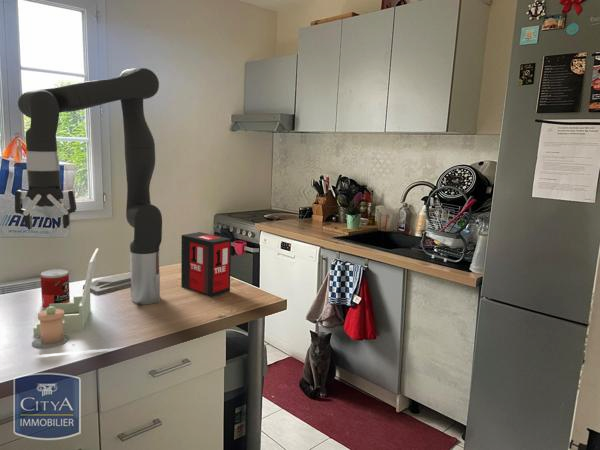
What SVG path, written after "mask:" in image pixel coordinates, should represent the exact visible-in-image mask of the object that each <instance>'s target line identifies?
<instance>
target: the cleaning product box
mask: <svg viewBox="0 0 600 450" xmlns="http://www.w3.org/2000/svg"><path fill="white" fill-rule="evenodd" d="M180 255H181V262H180V263H181V267H180V268H181V271H180V272H181V284H180V286H181V287H180V288H182V289H185V290H188V291H192V292H195V293H198V294H199V295H204V296H206V297H209V298H216V297H218V296H222V295H223V294H226V293H230V292H231V267H232V266H231V259H232V258H231V256H232V238H229V237H225V236H220V235H217V234H211V233H206V232H202V231H198V232H192V233H187V234H185V233H184V234H181V254H180ZM229 291H230V292H229Z"/></svg>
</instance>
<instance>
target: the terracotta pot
mask: <svg viewBox="0 0 600 450" xmlns="http://www.w3.org/2000/svg"><path fill="white" fill-rule="evenodd" d="M45 309H46V308H45ZM45 309H44V310H42V311H39V312H38V313H37V321H38V320H40V333H41V335H40V337H41V343H42V344H47V345H49V344H56V343H59V342H61V341H63V339H64V335H65V333H63V317H64V310H62V309H55V307H53V306H49V307H48V308H47V309H46V310H45Z"/></svg>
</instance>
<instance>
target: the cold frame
mask: <svg viewBox="0 0 600 450" xmlns="http://www.w3.org/2000/svg"><path fill="white" fill-rule="evenodd" d="M82 296H83V295H74V296H73V301H72V302H70V303H55V304H49V306H53V307H55V309H62V310H64V317H63V333H64V334H65V333H66V334H68V333H78V332H84V330H85V327H86V324H87V322H88V319H89V316H90V314H91V310H92V309H91V292H90V289H89V291H88V294H87V296H86V299H85V301H84V303H83V304H81V300H82ZM47 308H48V307H47ZM47 308H46V307H45V309H44V310H46V309H47ZM39 335H40V336H41V333H40V320H38V319H37V321H36V324H35V325H34V326H33V336H39Z"/></svg>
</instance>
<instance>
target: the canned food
mask: <svg viewBox="0 0 600 450" xmlns="http://www.w3.org/2000/svg"><path fill="white" fill-rule="evenodd" d="M69 275H70V274H69V270H66V269H60V268H59V269H48V270H47V269H46V270H44V271H43V272H41V273H40V288H41V289H40V290H41V291H40V292H41V305H42V306H43V308H45V309H46V308H47V307H49V304H55V303H71V302H70V301H71V299H70V298H71V297H70V296H71V295H70V278H69V277H70V276H69Z"/></svg>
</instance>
